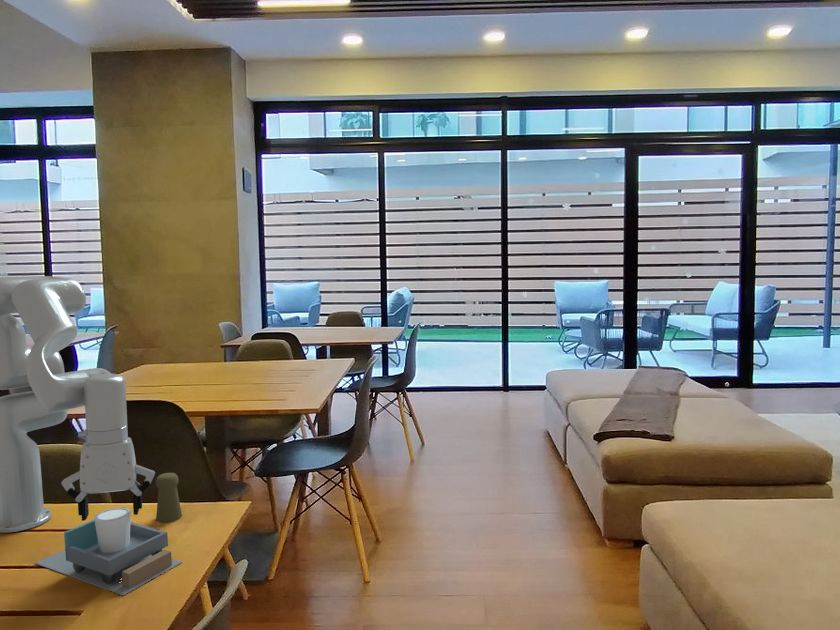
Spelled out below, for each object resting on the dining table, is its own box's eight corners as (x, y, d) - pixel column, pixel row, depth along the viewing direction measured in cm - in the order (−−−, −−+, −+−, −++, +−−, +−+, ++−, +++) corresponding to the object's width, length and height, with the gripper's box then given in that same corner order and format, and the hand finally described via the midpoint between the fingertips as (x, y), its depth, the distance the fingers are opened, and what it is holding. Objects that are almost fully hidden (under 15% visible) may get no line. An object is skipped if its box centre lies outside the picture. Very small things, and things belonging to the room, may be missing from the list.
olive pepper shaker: (176, 522, 149) (174, 478, 148) (151, 522, 149) (149, 478, 148) (186, 512, 155) (184, 469, 154) (162, 512, 155) (159, 470, 154)
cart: (66, 571, 125) (64, 532, 124) (126, 543, 137) (123, 507, 136) (110, 587, 119) (108, 545, 118) (168, 556, 131) (166, 518, 130)
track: (35, 563, 130) (33, 549, 129) (96, 536, 142) (95, 523, 142) (123, 595, 117) (122, 579, 116) (182, 562, 129) (181, 548, 129)
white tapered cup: (115, 556, 124) (113, 522, 123) (88, 551, 126) (86, 518, 125) (140, 540, 131) (138, 509, 130) (114, 537, 133) (112, 505, 132)
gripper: (54, 444, 119) (59, 528, 121) (151, 436, 125) (154, 517, 127) (64, 433, 127) (68, 512, 128) (155, 426, 132) (158, 503, 134)
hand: (111, 515), depth 128 cm, fingers open, 9 cm apart
